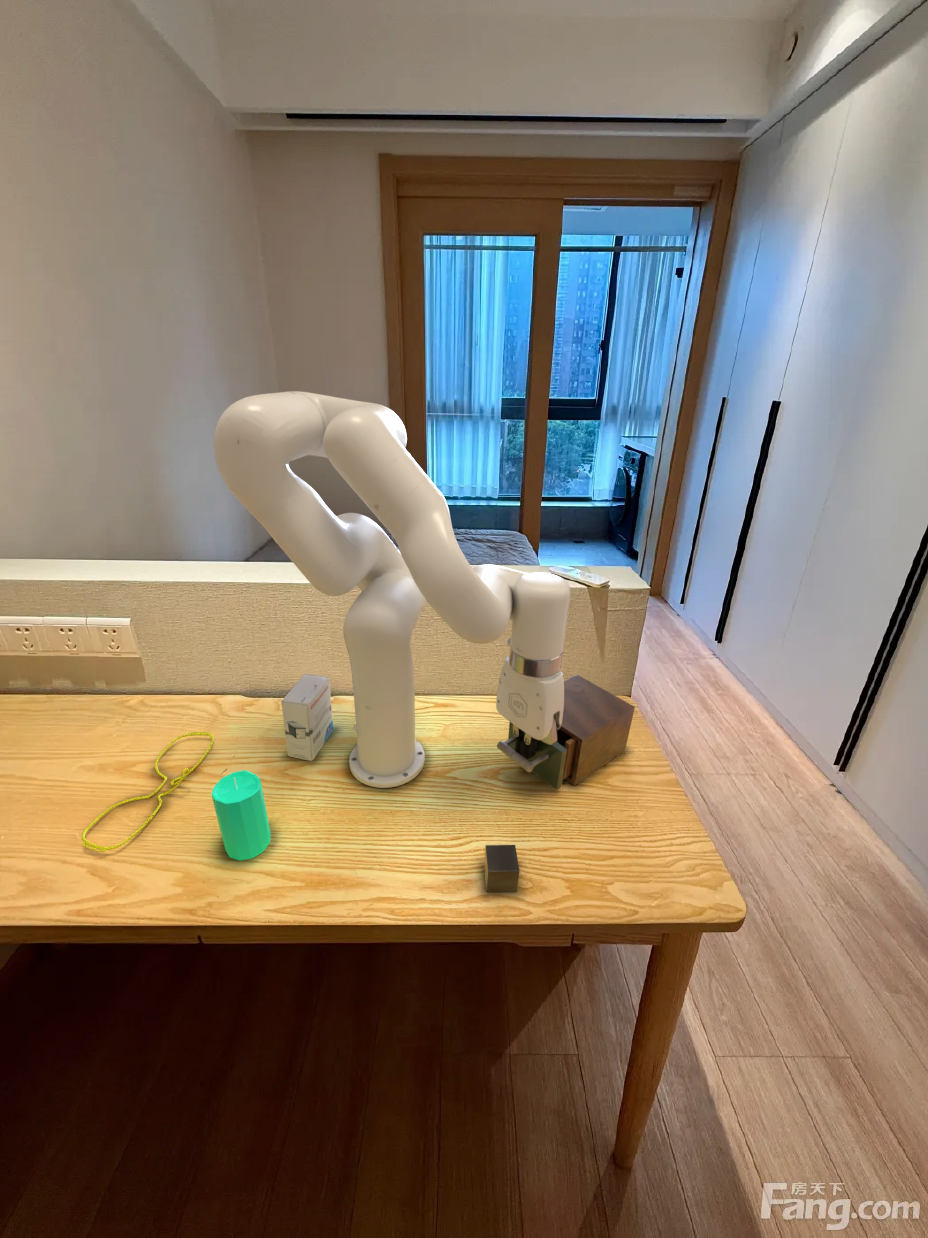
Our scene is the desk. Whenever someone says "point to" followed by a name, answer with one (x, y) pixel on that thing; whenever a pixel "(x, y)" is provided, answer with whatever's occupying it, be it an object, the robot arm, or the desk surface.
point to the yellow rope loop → (148, 796)
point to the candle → (242, 815)
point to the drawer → (545, 757)
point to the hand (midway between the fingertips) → (524, 756)
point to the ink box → (307, 716)
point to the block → (501, 868)
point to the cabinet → (594, 725)
